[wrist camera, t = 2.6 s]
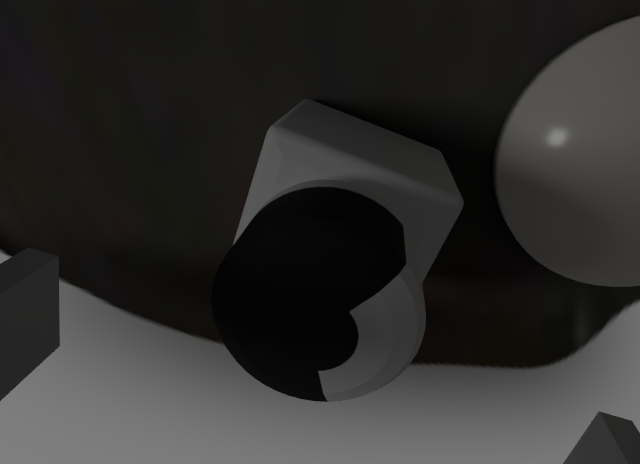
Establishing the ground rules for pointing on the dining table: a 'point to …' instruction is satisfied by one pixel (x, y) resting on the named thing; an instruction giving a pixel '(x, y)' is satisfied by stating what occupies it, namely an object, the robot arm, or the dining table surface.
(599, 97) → the dish
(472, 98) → the dining table surface
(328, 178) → the grey piece
